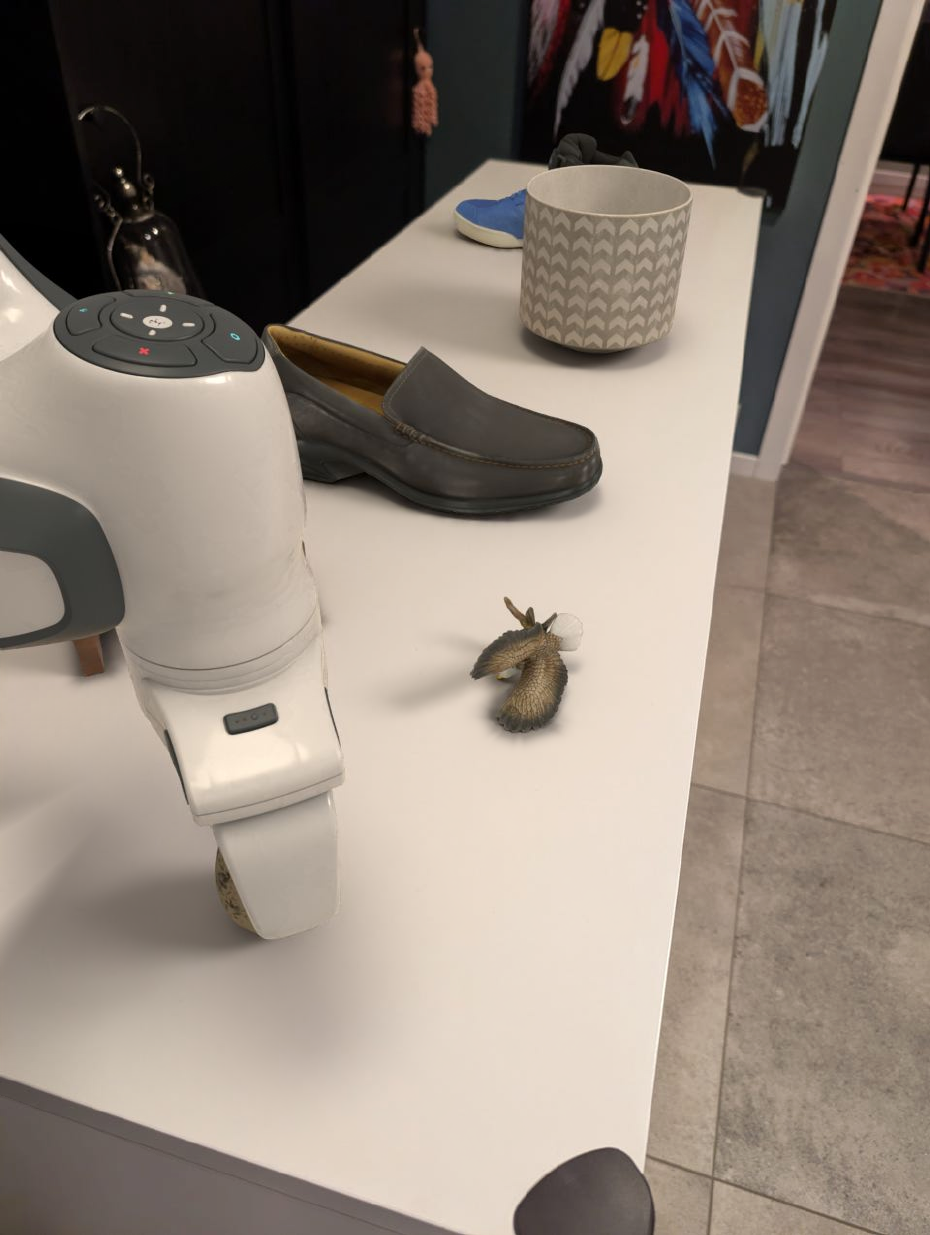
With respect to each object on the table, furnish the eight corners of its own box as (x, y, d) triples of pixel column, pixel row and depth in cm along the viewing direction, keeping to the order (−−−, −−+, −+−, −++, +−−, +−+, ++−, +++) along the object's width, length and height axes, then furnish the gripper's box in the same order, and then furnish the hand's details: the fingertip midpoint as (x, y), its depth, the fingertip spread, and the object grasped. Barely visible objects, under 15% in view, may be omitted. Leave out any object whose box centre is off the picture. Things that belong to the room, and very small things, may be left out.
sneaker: (466, 220, 155) (467, 109, 145) (645, 243, 148) (660, 127, 138) (440, 246, 146) (439, 129, 136) (629, 271, 139) (644, 150, 129)
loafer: (588, 540, 88) (603, 412, 80) (226, 483, 94) (204, 360, 86) (607, 467, 98) (622, 347, 89) (278, 421, 104) (263, 304, 96)
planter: (660, 382, 112) (685, 223, 101) (502, 361, 116) (509, 205, 104) (676, 319, 126) (700, 172, 115) (535, 302, 130) (544, 159, 118)
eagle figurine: (474, 628, 76) (444, 688, 69) (529, 569, 73) (504, 626, 65) (547, 686, 77) (526, 752, 70) (605, 631, 74) (590, 694, 66)
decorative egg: (340, 882, 60) (327, 777, 53) (304, 968, 55) (285, 865, 49) (251, 862, 61) (228, 756, 54) (209, 944, 56) (178, 840, 50)
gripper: (130, 542, 51) (180, 722, 60) (196, 837, 36) (249, 1017, 45) (248, 517, 53) (279, 696, 62) (356, 789, 38) (376, 971, 47)
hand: (267, 834), depth 53 cm, fingers open, 8 cm apart
